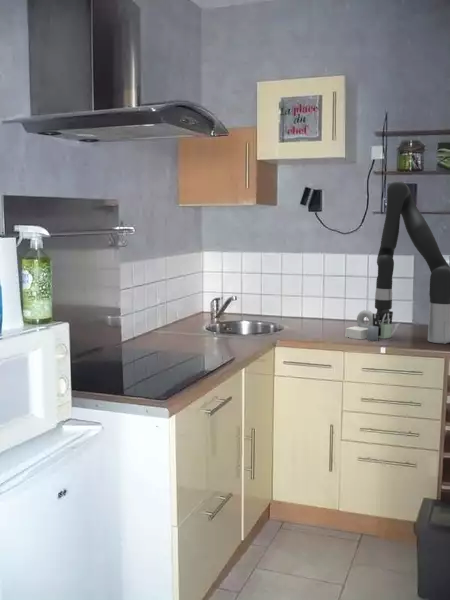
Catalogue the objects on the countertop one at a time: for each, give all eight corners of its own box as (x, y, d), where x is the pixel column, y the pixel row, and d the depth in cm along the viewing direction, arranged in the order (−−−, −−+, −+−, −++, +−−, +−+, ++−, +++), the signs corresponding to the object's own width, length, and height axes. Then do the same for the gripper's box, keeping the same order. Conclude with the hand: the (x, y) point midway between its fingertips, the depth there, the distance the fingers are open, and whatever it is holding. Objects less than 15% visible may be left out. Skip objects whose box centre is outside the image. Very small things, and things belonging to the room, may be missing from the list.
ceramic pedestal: (370, 337, 295) (370, 328, 295) (360, 339, 290) (360, 330, 289) (355, 334, 301) (355, 326, 300) (345, 337, 295) (345, 328, 295)
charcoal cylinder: (379, 340, 289) (380, 326, 289) (374, 341, 286) (374, 327, 285) (370, 338, 293) (371, 325, 292) (365, 339, 289) (365, 326, 289)
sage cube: (391, 337, 297) (391, 324, 296) (384, 338, 293) (384, 325, 292) (379, 335, 301) (380, 322, 300) (372, 336, 297) (373, 323, 296)
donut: (376, 331, 311) (377, 310, 309) (372, 332, 308) (373, 311, 307) (358, 328, 318) (359, 308, 316) (354, 329, 315) (355, 309, 314)
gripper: (382, 300, 287) (380, 338, 289) (399, 297, 297) (397, 334, 299) (367, 298, 292) (366, 335, 294) (384, 296, 302) (382, 331, 304)
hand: (381, 334), depth 297 cm, fingers closed on sage cube, 6 cm apart
